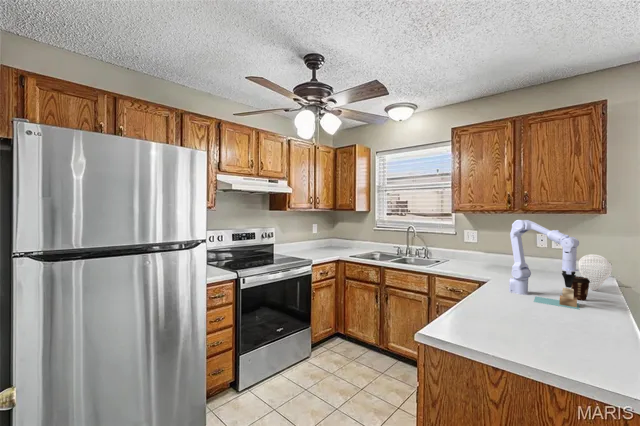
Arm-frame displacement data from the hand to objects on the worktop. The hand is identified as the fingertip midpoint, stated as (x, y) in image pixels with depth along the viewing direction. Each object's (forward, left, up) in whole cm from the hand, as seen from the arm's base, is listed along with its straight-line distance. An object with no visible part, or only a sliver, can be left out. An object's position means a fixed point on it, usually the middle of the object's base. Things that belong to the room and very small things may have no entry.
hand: (568, 286), depth 163 cm
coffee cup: (+5, +18, -11) cm, 21 cm away
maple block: (0, 0, -6) cm, 6 cm away
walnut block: (0, 0, -10) cm, 10 cm away
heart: (+13, +55, -11) cm, 57 cm away
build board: (-5, 0, -10) cm, 11 cm away
